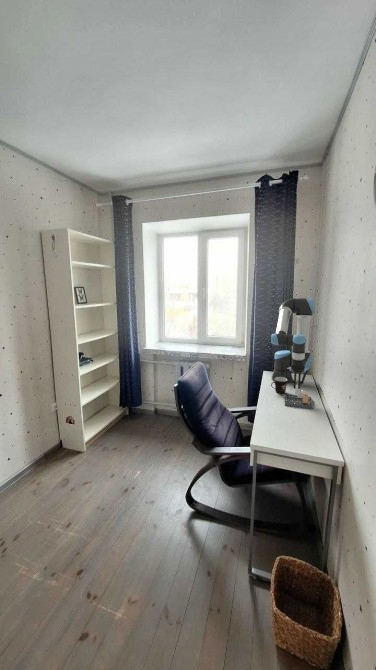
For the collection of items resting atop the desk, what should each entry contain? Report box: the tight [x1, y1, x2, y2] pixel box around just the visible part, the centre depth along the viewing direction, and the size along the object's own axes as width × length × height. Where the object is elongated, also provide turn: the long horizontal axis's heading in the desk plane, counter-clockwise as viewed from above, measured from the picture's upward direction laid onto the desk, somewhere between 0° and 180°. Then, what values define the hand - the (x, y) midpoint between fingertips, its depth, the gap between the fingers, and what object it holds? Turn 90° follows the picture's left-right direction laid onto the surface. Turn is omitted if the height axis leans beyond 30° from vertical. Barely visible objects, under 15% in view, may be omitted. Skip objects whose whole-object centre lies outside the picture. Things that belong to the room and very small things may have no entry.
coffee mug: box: [270, 377, 288, 395], centre depth 191 cm, size 12×9×10 cm
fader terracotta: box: [303, 393, 309, 403], centre depth 170 cm, size 3×3×5 cm
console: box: [284, 393, 313, 410], centre depth 176 cm, size 14×16×3 cm
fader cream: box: [297, 388, 304, 398], centre depth 178 cm, size 3×3×5 cm
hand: (296, 393), depth 178 cm, fingers closed
